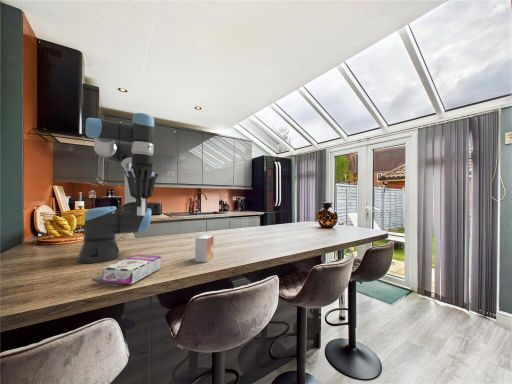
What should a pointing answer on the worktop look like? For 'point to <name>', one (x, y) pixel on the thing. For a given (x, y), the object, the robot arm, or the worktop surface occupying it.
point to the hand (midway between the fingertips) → (141, 215)
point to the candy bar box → (131, 269)
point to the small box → (204, 248)
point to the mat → (108, 282)
